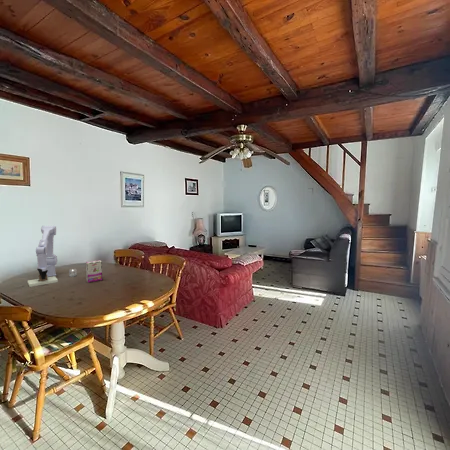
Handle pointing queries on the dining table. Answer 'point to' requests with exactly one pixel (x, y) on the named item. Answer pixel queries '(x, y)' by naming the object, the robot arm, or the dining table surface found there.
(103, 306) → the dining table surface
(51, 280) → the socket plate
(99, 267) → the candy bar box
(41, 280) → the walnut bar
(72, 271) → the grey round peg
